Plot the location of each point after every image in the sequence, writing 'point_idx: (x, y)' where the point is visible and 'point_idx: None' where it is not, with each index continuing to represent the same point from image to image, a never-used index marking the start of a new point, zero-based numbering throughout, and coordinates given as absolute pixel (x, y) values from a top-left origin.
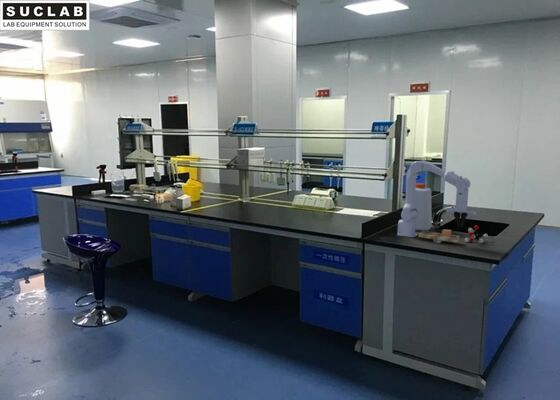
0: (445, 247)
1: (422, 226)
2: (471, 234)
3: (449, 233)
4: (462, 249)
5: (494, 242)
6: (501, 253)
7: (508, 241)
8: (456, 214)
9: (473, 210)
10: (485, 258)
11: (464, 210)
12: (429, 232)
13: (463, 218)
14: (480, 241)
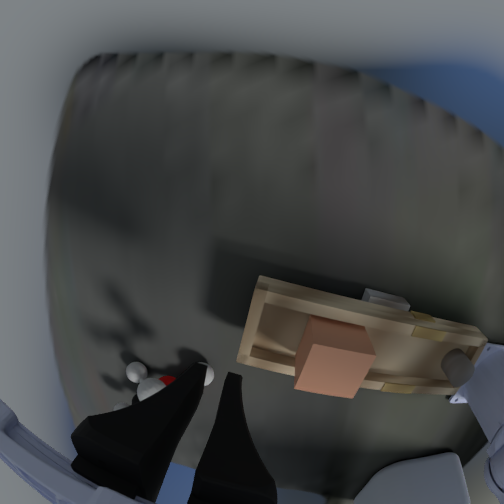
0: (332, 184)
1: (408, 473)
2: (160, 378)
3: (313, 334)
4: (217, 176)
5: (102, 380)
6: (51, 194)
7: (76, 396)
8: (222, 482)
9: (12, 469)
10: (111, 56)
11: (66, 502)
12: (426, 384)
13: (131, 411)
14: (138, 365)
